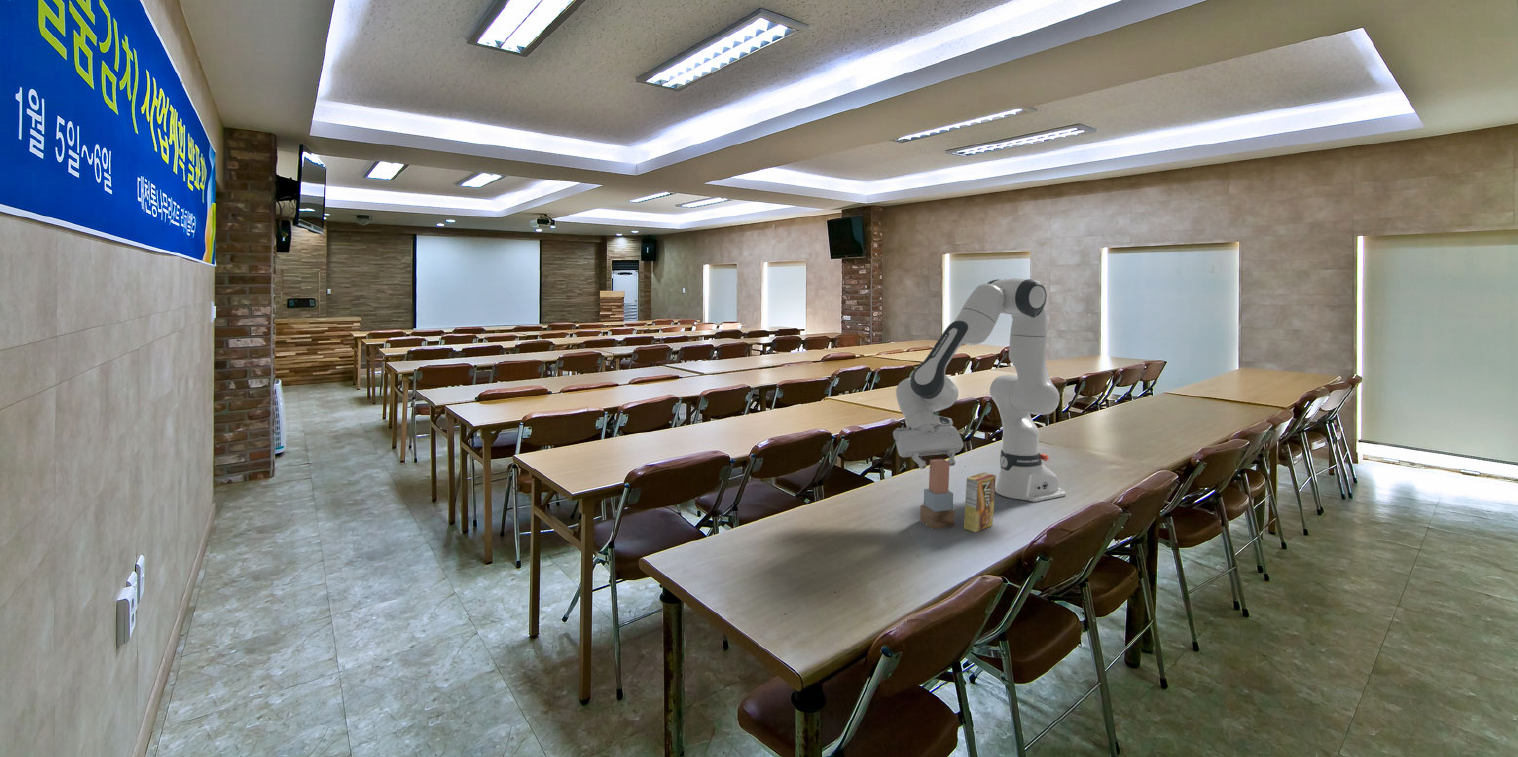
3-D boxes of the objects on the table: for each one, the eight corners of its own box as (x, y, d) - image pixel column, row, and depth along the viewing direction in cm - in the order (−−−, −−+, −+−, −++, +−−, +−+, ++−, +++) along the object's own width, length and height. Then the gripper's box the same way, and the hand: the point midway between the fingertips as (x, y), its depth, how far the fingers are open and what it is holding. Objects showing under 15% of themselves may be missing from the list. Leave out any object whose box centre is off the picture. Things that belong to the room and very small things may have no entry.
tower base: (941, 518, 204) (941, 502, 203) (953, 526, 197) (954, 510, 196) (920, 520, 202) (920, 504, 201) (932, 529, 195) (932, 512, 194)
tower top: (941, 503, 202) (942, 487, 202) (952, 509, 197) (953, 493, 196) (923, 505, 201) (924, 488, 200) (934, 511, 195) (934, 495, 194)
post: (941, 488, 200) (942, 458, 199) (948, 492, 197) (949, 462, 195) (928, 489, 199) (930, 459, 198) (935, 493, 196) (937, 463, 194)
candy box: (980, 521, 201) (983, 471, 198) (993, 525, 197) (996, 474, 195) (963, 528, 195) (965, 477, 193) (976, 533, 192) (978, 480, 190)
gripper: (894, 423, 201) (909, 463, 193) (956, 418, 206) (973, 458, 198) (887, 434, 206) (901, 474, 198) (947, 429, 211) (964, 468, 203)
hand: (938, 466), depth 198 cm, fingers open, 8 cm apart
